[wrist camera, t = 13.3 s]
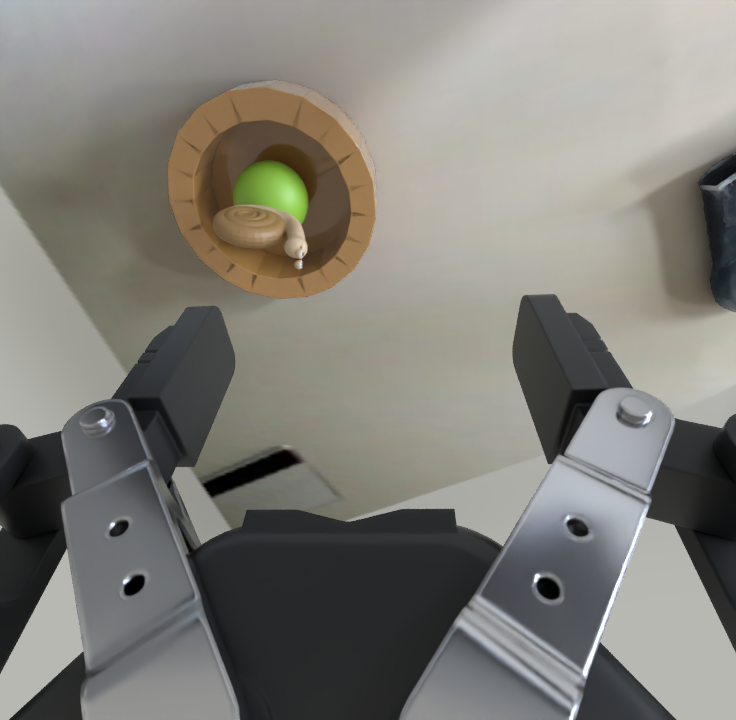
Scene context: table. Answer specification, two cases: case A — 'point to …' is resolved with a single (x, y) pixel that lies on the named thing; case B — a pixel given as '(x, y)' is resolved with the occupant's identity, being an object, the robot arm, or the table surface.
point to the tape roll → (293, 148)
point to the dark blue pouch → (722, 228)
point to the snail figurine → (266, 210)
